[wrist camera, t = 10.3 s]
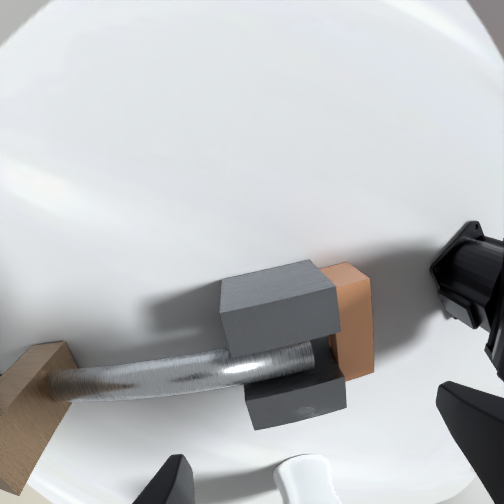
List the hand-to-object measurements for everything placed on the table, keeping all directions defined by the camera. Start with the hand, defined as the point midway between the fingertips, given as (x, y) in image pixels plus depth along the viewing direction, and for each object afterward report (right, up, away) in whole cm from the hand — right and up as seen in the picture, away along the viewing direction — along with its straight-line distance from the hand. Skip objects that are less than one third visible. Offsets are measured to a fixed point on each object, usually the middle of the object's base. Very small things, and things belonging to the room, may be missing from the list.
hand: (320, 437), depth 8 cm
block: (0, +1, +13) cm, 13 cm away
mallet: (-10, -1, +12) cm, 16 cm away
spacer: (+4, +2, +13) cm, 14 cm away
